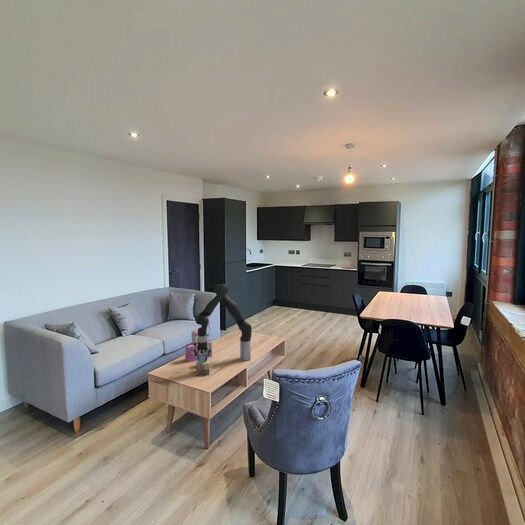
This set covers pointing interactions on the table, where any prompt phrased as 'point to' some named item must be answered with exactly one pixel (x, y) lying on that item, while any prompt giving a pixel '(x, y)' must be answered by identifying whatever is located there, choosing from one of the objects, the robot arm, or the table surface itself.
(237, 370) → the table surface
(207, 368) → the walnut block
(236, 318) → the robot arm
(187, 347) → the gum box
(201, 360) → the blue block
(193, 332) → the cracker box
